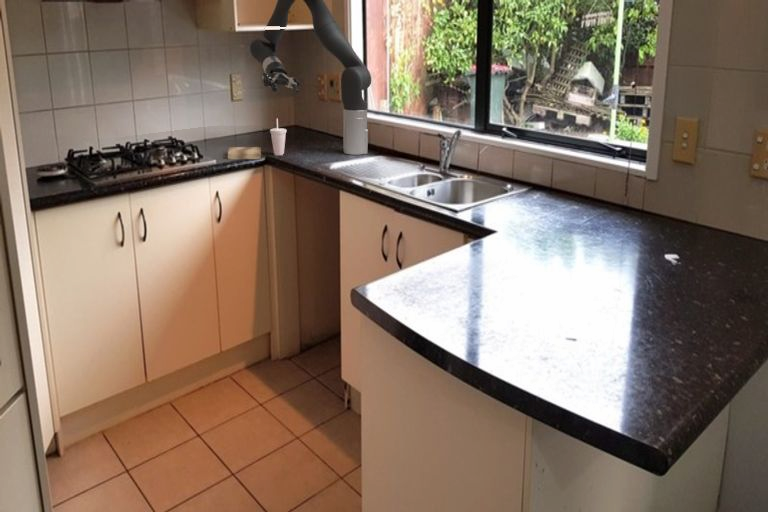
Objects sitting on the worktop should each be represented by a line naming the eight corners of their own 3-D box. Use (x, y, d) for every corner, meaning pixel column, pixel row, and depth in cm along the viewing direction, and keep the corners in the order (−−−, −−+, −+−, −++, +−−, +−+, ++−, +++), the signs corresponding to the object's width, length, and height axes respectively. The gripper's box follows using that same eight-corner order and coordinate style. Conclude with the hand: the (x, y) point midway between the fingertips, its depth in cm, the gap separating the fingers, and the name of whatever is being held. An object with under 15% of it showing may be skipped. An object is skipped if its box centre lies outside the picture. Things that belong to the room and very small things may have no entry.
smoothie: (267, 154, 275) (266, 118, 271) (277, 152, 281) (276, 116, 276) (280, 156, 273) (279, 120, 268) (290, 153, 278) (289, 117, 273)
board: (260, 152, 279) (260, 146, 279) (260, 158, 268) (260, 153, 268) (229, 152, 278) (229, 146, 277) (228, 159, 266) (227, 153, 266)
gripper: (259, 59, 276) (270, 80, 266) (293, 62, 283) (306, 83, 273) (255, 76, 281) (266, 98, 270) (289, 79, 287) (301, 100, 277)
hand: (286, 91), depth 271 cm, fingers open, 8 cm apart
